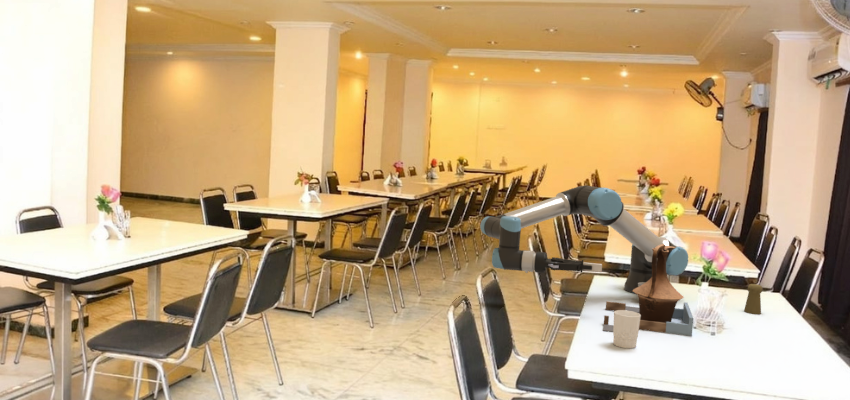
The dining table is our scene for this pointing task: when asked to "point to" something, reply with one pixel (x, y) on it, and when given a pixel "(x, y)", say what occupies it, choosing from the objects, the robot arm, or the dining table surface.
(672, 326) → the pocket
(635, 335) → the beige tumbler
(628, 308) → the mat
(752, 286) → the cork
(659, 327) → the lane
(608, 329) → the mat
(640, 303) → the pitcher
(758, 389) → the dining table surface
